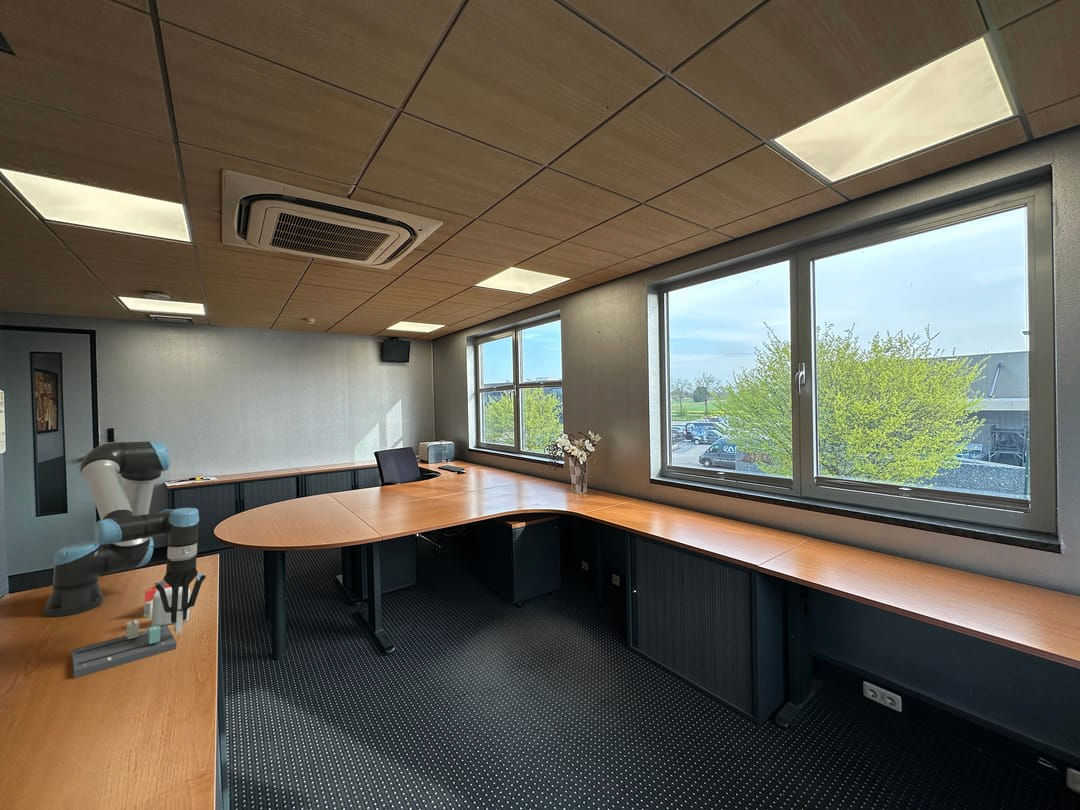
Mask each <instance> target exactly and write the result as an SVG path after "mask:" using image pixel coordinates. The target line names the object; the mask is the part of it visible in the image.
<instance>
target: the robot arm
mask: <svg viewBox="0 0 1080 810" xmlns="http://www.w3.org/2000/svg"><path fill="white" fill-rule="evenodd" d="M170 459H171V458H170V453H169V449H168V447H167V445H166V444H165V443H164V442H163V441H151V440H148V441H124V442H123V441H120V442H118V441H113V442H106V443H104V444H103V443H102V444H100V445H98V446H96V447H94V448H93V449H91V450H90V451H89V452H88V453H87V454H86V455H85V456H84V457H83V459H82V460H81V463H80V466H79V472H80V475H81V478H82V479H83V480H84V481H86V482H87V484H88V486H89V489H90V492H91V494H92V498H93V500H94V504H95V507H96V509H97V513H98V515H99V519H100V520H98V521H97V522H96V523H95V524H94V531H93V535H94V539H90V540H83V541H79V542H75V543H71V544H69V545H66V546H63V547H62V548H59V549H58V550H57V551H56V552H55V554H54V559H53V560H54V561H53V578H52V590H51V591H52V592H51V593H50V595H49V598H48V599H47V601H46V603H45V605H44V606H43V607H44V609H43V615H44V616H46V617H64V616H65V617H66V616H71V615H76V614H79V613H84V612H88V611H90V610H93V609H96V608H97V607H100V606H101V605H102V604H103V603H104V594H103V591H102V589H101V587H100V585H99V576H100V575H105V574H110V573H115V572H121V571H123V570H131V569H135V568H140V567H142V566H145V565H147V564H148V563H149V562H150V560H151V558H152V555H153V552H154V546H155V545H154V544H155V543H154V540H153V538H154V537H159V536H167V552H166V553H167V554H166V559H167V560H166V568H165V569H166V571H165V575H164V576H163V579H162V580H160V581H159V582H156V583H154V586H155V587H156V589H155V590H158V591H159V593H160V597H161V601H162V604H163V608H164V610H165V612H166V613H168V612H170V613H171V622H172V623H173V624H174V628H173V631H174V632H175V634H178V633H182V632H183V622H182V621H183V620H186V618H187V610H188V608H190V609H191V607H194V606H195V604H196V601H197V598H198V595H199V592H200V588H201V587H202V583H203V582H204V581H205V579H206V577H207V576H206V575H205V574H204V573H200V572H199V571H198V570H197V559H198V557H197V556H196V555H197V554H198V538H199V536H198V535H199V522H200V515H199V513H200V512H199V509H198V508H195V507H181V508H176V509H174V508H173V509H172V508H171V509H170V508H168V509H164V510H162V511H161V510H160V511H159V512H155V513H150V508H151V503H152V497H153V491H154V487H155V481H156V480H158V479H159V478H161V476H162V472H166V471H168V470H169V468H170V465H171V463H170V462H171V461H170ZM119 474H120V475H119ZM120 477H121V478H122V479H123V480H124V485H123V484H122V481H121V479H120ZM194 579H195V582H194V585H193V587H192V590H191V596H190V599H189V602H188V589H189V587H190V584H191V583H192V582H193V581H194ZM165 583H168V584H169V585H170V586H171V587H172V601H171V607H169V604H168V600H167V597H166V593H165V590H164V587H165ZM179 587H182V603H181V608H182V609H178V610H177V607H178V591H179Z"/></svg>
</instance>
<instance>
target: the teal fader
mask: <svg viewBox="0 0 1080 810" xmlns="http://www.w3.org/2000/svg"><path fill="white" fill-rule="evenodd" d="M160 627H161V626H159V624H156V625H152V626H151V625H150V626H149V625H148V626H147V630H148V634H147V640H148V642H149V644H152V643H156V642H159V641H160V631H161V628H160Z"/></svg>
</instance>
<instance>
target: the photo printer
mask: <svg viewBox="0 0 1080 810" xmlns="http://www.w3.org/2000/svg"><path fill="white" fill-rule="evenodd" d="M164 590H165V593H166V597H167V600H168V604H169V607H171V601H172V587H168V588H164ZM155 591H156V590H155ZM191 593H192V591H191V589H190V586H189V589H188V602H189V599H190V596H191ZM181 603H182V587H179V591H178V607H177V610H178V609H182V608H181ZM190 609H191V607H190V608H188V610H187V618H186V620H183V621H182V623H184V622H188V621H189V619H190ZM156 624H159V626H160V627H161V626H165V625H167V626H168V625H172V624H173V625H174V623H172V622H171V613H170V612H168V613H166V612H165V610H164V608H163V604H162V601H161V597H160V593H159V591H156V593H155V595H154V597H153V608H152V617H151V623H150V626H152V625H156Z"/></svg>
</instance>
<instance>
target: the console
mask: <svg viewBox="0 0 1080 810" xmlns="http://www.w3.org/2000/svg"><path fill="white" fill-rule="evenodd" d="M160 628H161V631H160V641H159V642H156V643H152V644H149V642H148V640H147V634H148V629H145V630H141V631H139V637H136V638H132V639H127V636H126V635H122V636H119V637H115V638H112V639H111V638H110V639H108V640H107V639H106V640H103V641H99V642H95V643H92V644H87V645H84V646H83V645H82V646H80V647H76V648H72V649H71V663H72V670H73V671H72V672H73V679H77V678H81V677H84V676H87V675H91V674H94V673H97V672H101V671H104V670H108V669H111V668H115V667H118V666H122V665H125V664H128V663H131V662H136V661H139V660H142V659H145V658H148V657H152V656H156V655H159V654H162V653H166V652H169V651H173V650H176V649H177V640H176V638H175V637H174V635H173V634H172V633H173V632H171V629H170V628H169V625H168V624H167V625H161V626H160Z"/></svg>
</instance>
